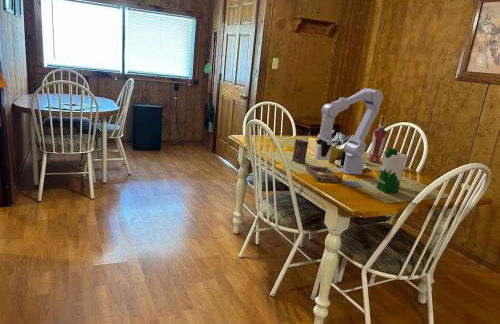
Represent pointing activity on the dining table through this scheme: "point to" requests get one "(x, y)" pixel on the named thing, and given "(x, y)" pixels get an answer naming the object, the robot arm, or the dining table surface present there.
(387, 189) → the milk carton
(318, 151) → the cream rectangular prism
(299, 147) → the box
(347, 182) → the mat
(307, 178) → the dining table surface
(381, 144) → the liquor
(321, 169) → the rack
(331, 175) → the tan rectangular block
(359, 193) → the dining table surface
